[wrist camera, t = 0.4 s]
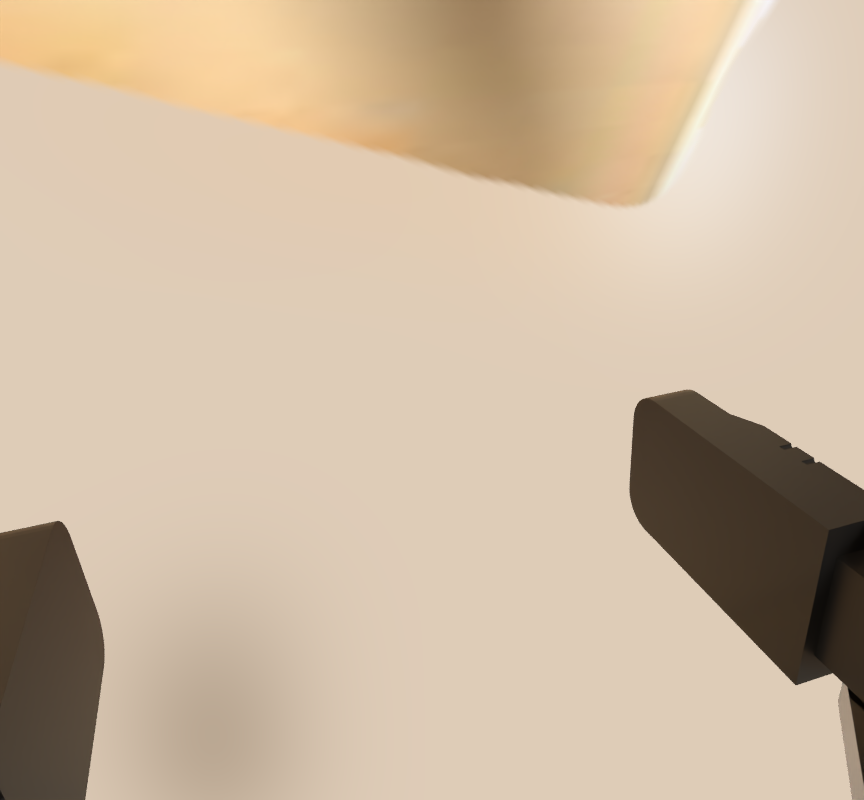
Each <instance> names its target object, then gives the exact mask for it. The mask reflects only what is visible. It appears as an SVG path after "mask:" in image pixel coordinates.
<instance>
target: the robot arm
mask: <svg viewBox="0 0 864 800" xmlns="http://www.w3.org/2000/svg"><path fill="white" fill-rule="evenodd" d="M630 498H631V503H632V507H633V510H634V512H635V515H636V517H637V519H638V521H639V522H640V524H641V525H642V526H643V528H644V529H645V530H646V531H647V532H648V533H649V534H650V535H651V536H652V537H653V538H654V539H655V540H656V541H657V542H658V543H659V544H660V545H661V547H662V548H663V549H664V550H665V551H666V552H667V553H668V554H669V555H670V556H671V557H672V558H673V559H674V560H675V561H676V562H677V563H678V564H679V565H680V566H681V567H682V568H683V569H684V570H685V571H686V572H687V573H688V574H689V575H690V576H691V578H692V579H693V580H694V581H695V582H696V583H697V584H698V585H699V586H700V587H701V588H702V589H703V590H704V591H705V592H706V593H707V594H708V595H709V596H710V597H711V598H712V599H713V600H714V601H715V602H716V603H717V604H718V605H719V606H720V607H721V608H722V610H723V611H724V612H725V613H726V614H727V615H728V616H729V617H730V618H731V619H732V620H733V621H734V622H735V623H736V624H737V625H738V626H739V627H740V628H741V629H742V630H743V631H744V632H745V633H746V634H747V635H748V636H749V637H750V638H751V639H752V640H753V642H754V643H755V644H756V645H758V647H759V648H760V649H761V650H762V651H763V652H764V653H765V654H766V655H767V656H768V657H769V658H770V659H771V660H772V661H773V662H774V663H775V664H776V665H777V666H778V667H779V668H780V669H781V671H782V672H783V673H785V675H786V676H787V677H788V678H789V679H790V680H791V681H792V682H793V683H794V684H795V685H798V684H801V683H804V682H807V681H810V680H813V679H816V678H819V677H822V676H825V675H828V674H831V673H833V674H835V675H836V676H837V677H838V678H839V679H840V680H841V681H842V682H843V683H842V687H841V691H840V695H839V699H838V703H839V713H840V720H841V726H842V732H843V740H844V746H845V753H846V760H847V767H848V773H849V780H850V787H851V794H852V800H864V490H863V489H862V488H860V487H858V486H857V485H855V484H853V483H852V482H850V481H849V480H847V479H846V478H844V477H843V476H841V475H840V474H838V473H836V472H835V471H833V470H832V469H830V468H828V467H827V466H825V465H824V464H822V463H821V462H817V463H815V462H814V458H813V457H811V456H810V455H808V454H807V453H805V452H804V451H802V450H801V449H799V448H797V447H794V448H792V446H791V443H789V442H788V441H786V440H785V439H783V438H782V437H780V436H779V435H777V434H776V433H774V432H772V431H771V430H769V429H767V428H766V427H765V426H762V425H759V424H756V423H754V422H751V421H748V420H745V419H742V418H740V417H737V416H734V415H731V414H729V413H727V412H726V411H724V410H723V409H721V408H719V407H718V406H717V405H715V404H713V403H712V402H710V401H709V400H707V399H706V398H704V397H703V396H701V395H700V394H698V393H697V392H695V391H693V390H683V391H678V392H674V393H669V394H664V395H659V396H655V397H650V398H645V399H642V400H641V401H639V403H638V404H637V406H636V408H635V412H634V423H633V438H632V455H631V471H630ZM103 669H104V640H103V633H102V628H101V623H100V619H99V615H98V612H97V610H96V607H95V604H94V601H93V598H92V596H91V593H90V590H89V587H88V584H87V582H86V579H85V576H84V573H83V570H82V568H81V565H80V562H79V559H78V556H77V554H76V551H75V548H74V545H73V543H72V540H71V537H70V534H69V532H68V530H67V528H66V527H65V525H64V524H63V523H62V522H60V521H56V522H51V523H46V524H41V525H36V526H32V527H27V528H22V529H18V530H13V531H8V532H3V533H0V800H85V796H86V789H87V782H88V776H89V768H90V761H91V754H92V747H93V740H94V733H95V725H96V719H97V712H98V705H99V697H100V690H101V682H102V675H103Z"/></svg>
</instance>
